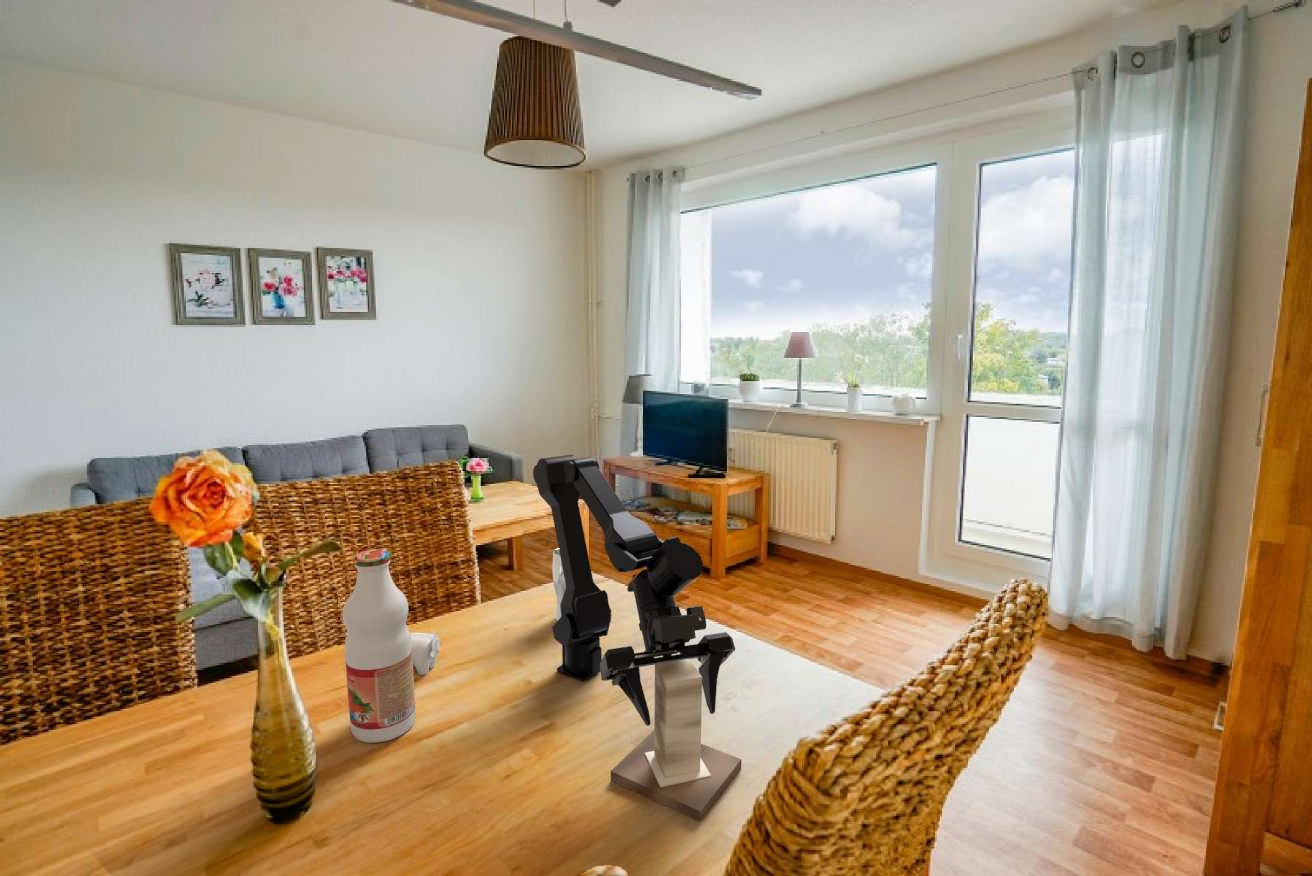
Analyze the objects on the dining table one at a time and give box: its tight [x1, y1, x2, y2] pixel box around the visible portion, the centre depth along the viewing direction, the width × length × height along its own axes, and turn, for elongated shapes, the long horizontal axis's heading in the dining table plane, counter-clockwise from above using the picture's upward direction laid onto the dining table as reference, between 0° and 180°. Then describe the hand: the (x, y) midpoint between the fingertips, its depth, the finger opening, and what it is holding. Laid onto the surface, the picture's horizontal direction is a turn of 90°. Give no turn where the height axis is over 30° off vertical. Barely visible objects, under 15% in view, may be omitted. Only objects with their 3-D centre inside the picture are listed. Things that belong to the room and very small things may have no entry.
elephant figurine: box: [410, 632, 443, 676], centre depth 120 cm, size 8×10×7 cm
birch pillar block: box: [653, 659, 703, 778], centre depth 91 cm, size 5×5×14 cm
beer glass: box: [551, 547, 566, 622], centre depth 139 cm, size 7×7×15 cm
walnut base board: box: [610, 729, 742, 822], centre depth 92 cm, size 14×12×2 cm
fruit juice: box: [342, 548, 417, 744], centre depth 101 cm, size 9×9×28 cm
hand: (681, 719), depth 90 cm, fingers open, 9 cm apart
